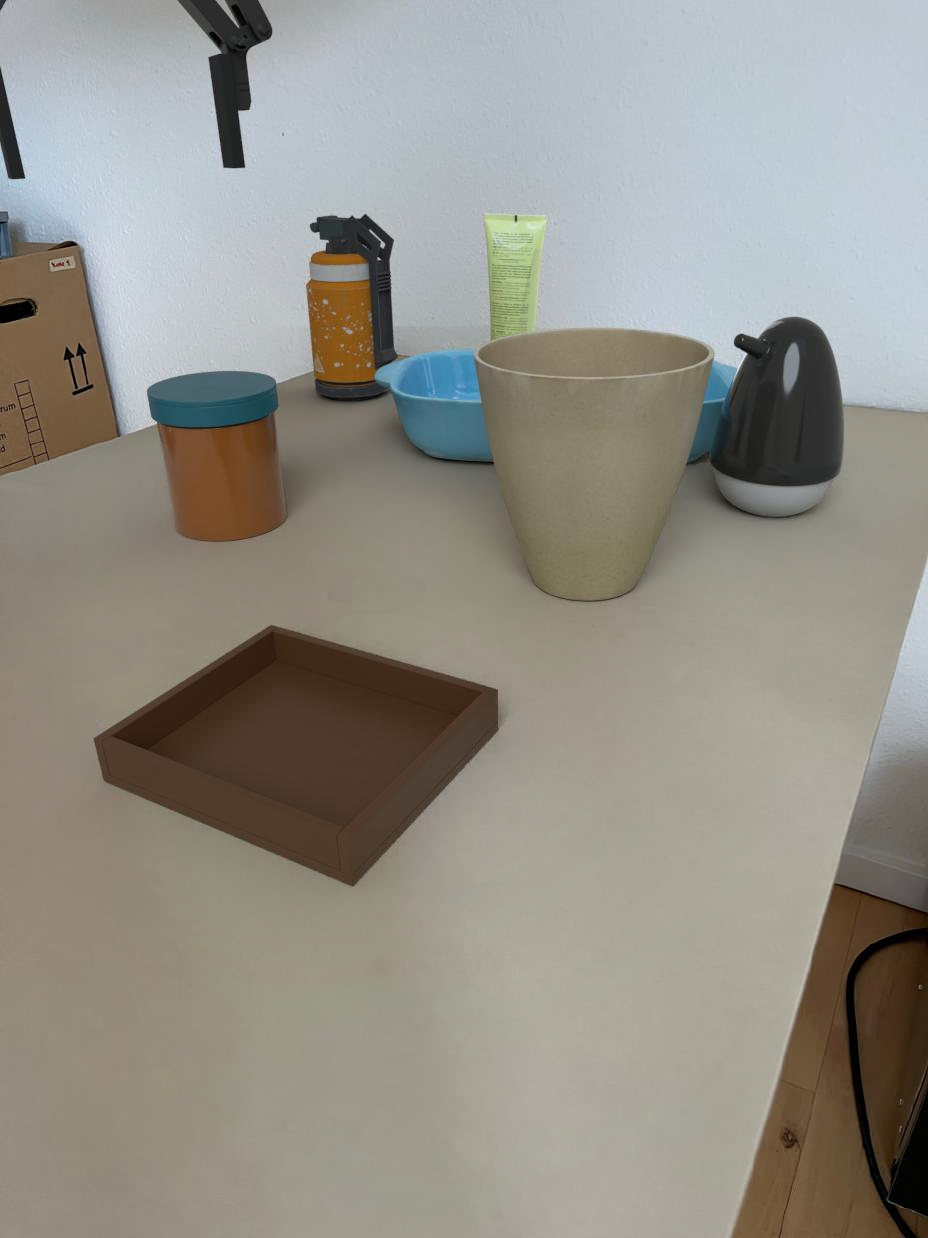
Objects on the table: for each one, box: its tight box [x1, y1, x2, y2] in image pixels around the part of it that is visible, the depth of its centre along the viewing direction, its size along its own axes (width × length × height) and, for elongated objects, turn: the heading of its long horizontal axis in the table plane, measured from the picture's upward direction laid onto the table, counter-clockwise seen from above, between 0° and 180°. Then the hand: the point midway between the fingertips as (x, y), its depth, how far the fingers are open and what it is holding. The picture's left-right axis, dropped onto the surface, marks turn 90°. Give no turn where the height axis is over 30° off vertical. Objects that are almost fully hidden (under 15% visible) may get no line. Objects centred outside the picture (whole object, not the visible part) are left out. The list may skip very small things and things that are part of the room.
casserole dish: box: [374, 348, 738, 464], centre depth 93 cm, size 37×22×7 cm, turn 86°
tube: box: [483, 212, 548, 341], centre depth 110 cm, size 6×5×20 cm
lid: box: [146, 370, 280, 427], centre depth 73 cm, size 10×10×2 cm
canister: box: [305, 213, 399, 401], centre depth 108 cm, size 9×11×20 cm
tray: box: [93, 624, 499, 887], centre depth 48 cm, size 15×13×3 cm
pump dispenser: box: [709, 316, 845, 518], centre depth 74 cm, size 10×10×15 cm
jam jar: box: [156, 411, 287, 542], centre depth 75 cm, size 9×9×11 cm
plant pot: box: [474, 327, 716, 602], centre depth 63 cm, size 15×15×16 cm
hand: (130, 173), depth 60 cm, fingers open, 13 cm apart
